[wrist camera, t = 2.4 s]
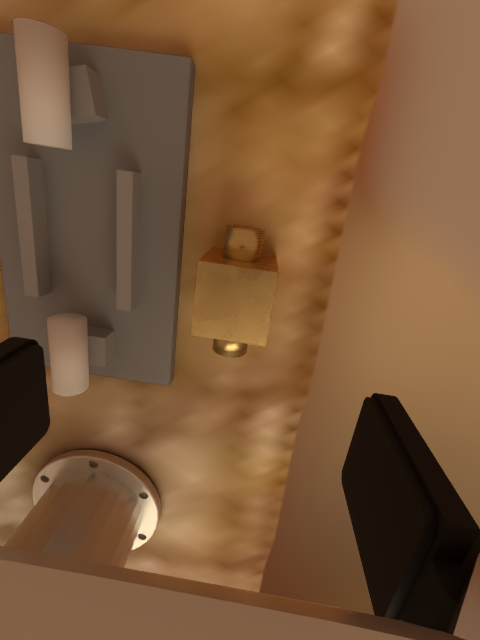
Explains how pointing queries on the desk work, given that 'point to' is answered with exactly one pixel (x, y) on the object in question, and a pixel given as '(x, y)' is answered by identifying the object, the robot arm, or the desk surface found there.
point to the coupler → (235, 292)
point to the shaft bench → (93, 202)
